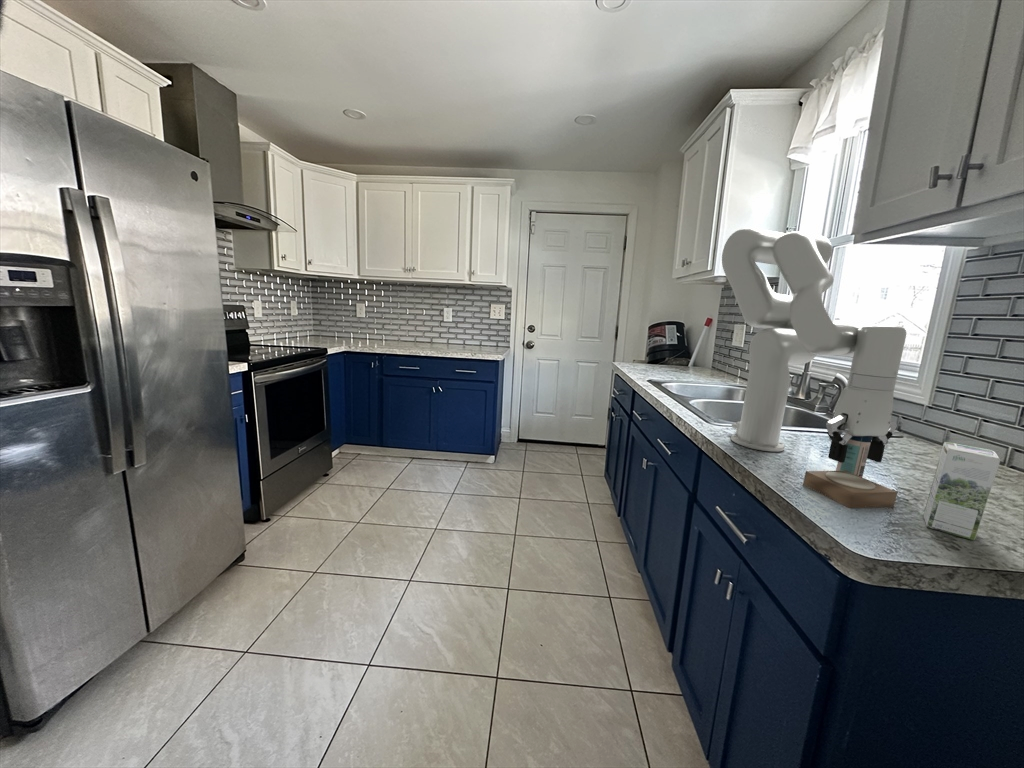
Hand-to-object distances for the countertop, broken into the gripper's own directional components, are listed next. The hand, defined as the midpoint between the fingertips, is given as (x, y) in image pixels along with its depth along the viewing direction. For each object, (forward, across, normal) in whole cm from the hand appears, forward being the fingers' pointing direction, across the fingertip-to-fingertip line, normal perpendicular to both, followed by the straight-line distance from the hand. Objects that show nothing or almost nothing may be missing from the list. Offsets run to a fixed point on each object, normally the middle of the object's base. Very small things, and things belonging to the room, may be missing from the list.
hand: (854, 460), depth 88 cm
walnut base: (+4, +10, +8) cm, 13 cm away
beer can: (+4, 0, 0) cm, 5 cm away
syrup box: (+5, +4, +20) cm, 21 cm away
